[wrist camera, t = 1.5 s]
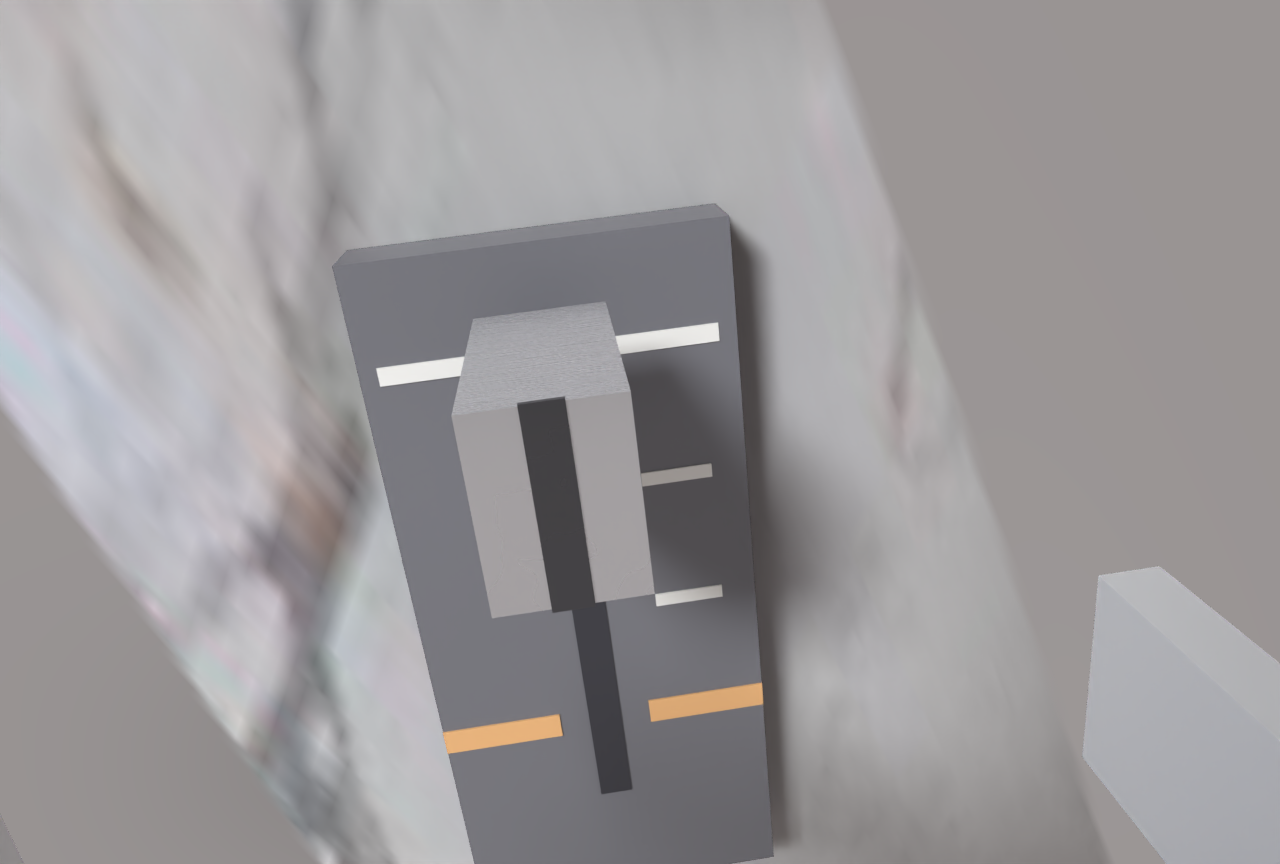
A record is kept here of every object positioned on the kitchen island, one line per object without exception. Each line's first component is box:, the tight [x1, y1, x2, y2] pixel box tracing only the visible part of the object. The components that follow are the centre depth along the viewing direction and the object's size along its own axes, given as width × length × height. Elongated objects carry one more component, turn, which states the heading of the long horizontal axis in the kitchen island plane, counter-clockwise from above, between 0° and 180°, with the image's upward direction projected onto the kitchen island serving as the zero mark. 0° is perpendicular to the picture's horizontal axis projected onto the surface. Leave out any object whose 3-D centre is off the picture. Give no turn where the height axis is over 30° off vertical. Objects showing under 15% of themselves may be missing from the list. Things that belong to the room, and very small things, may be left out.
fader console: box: [332, 204, 774, 864], centre depth 29 cm, size 22×10×2 cm, turn 6°
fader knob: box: [451, 301, 655, 618], centre depth 20 cm, size 4×3×9 cm
